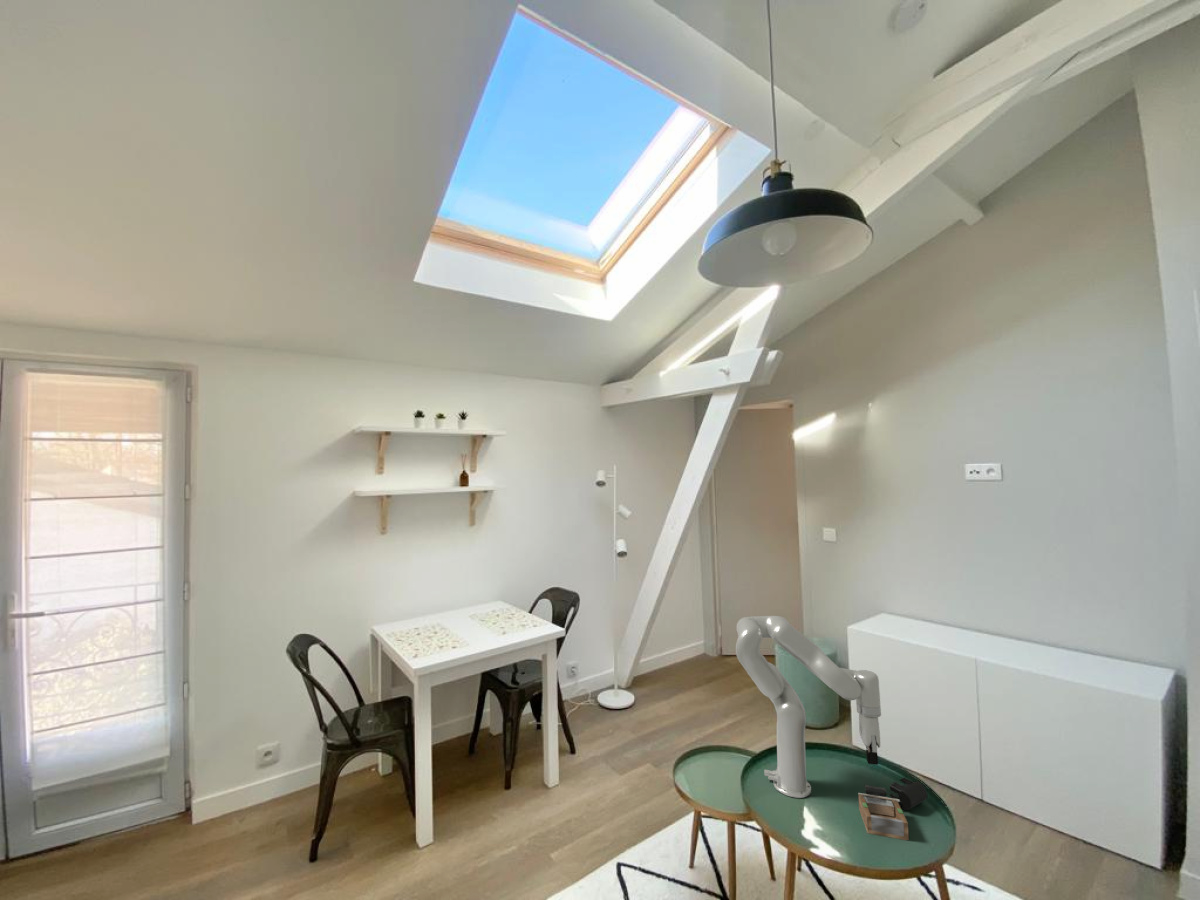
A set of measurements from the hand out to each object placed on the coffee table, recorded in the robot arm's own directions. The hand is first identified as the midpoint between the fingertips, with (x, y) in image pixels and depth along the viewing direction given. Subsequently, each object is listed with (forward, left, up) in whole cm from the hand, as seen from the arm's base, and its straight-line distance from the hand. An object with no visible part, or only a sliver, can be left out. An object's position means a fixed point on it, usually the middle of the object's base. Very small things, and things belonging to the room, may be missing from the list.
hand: (872, 762), depth 171 cm
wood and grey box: (-1, -15, -11) cm, 19 cm away
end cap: (+10, -2, -11) cm, 15 cm away
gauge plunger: (-1, -10, -9) cm, 13 cm away
